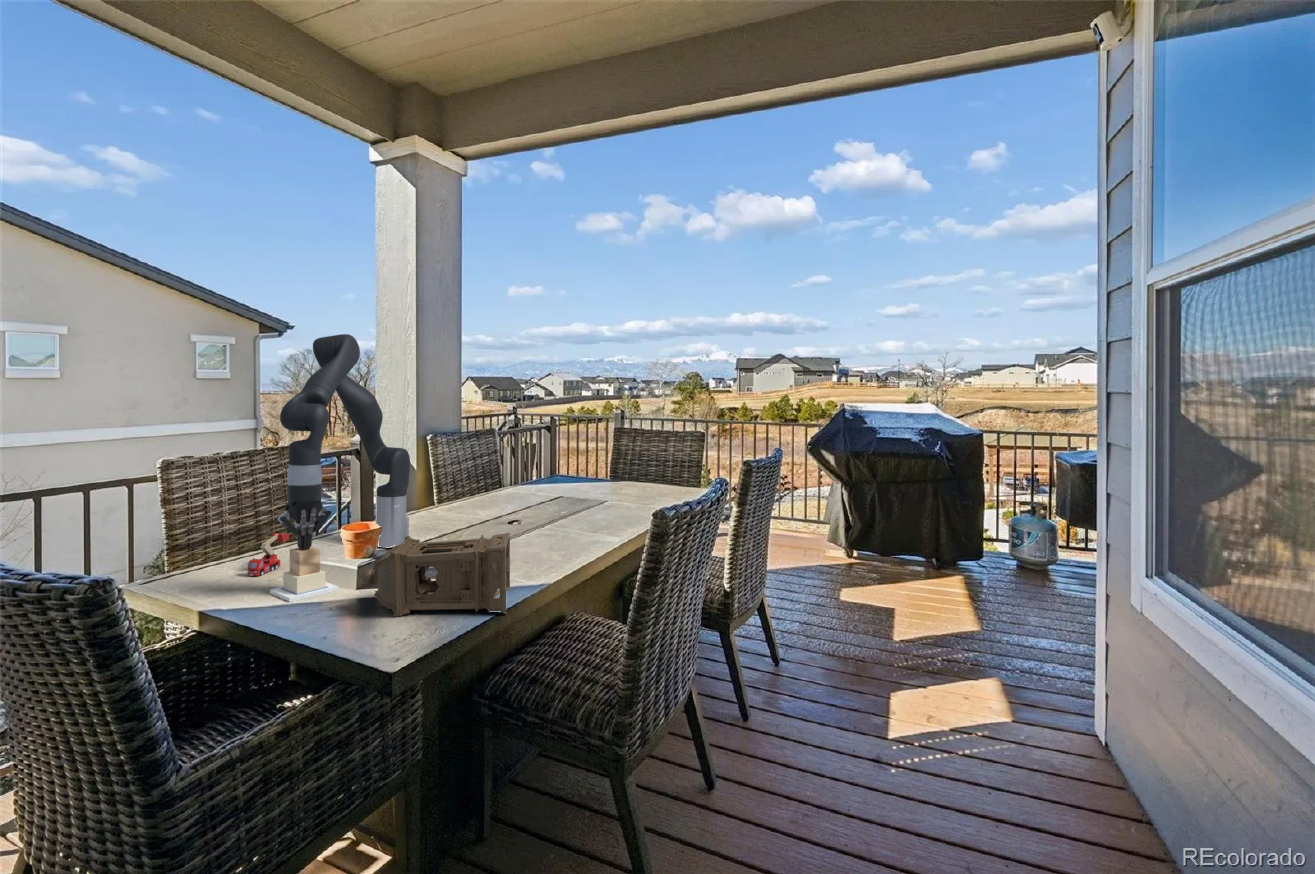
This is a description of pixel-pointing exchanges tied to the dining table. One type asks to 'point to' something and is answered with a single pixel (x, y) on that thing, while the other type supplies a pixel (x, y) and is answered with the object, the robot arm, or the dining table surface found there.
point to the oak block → (304, 561)
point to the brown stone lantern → (443, 575)
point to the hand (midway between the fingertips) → (304, 549)
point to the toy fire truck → (266, 557)
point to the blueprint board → (302, 596)
